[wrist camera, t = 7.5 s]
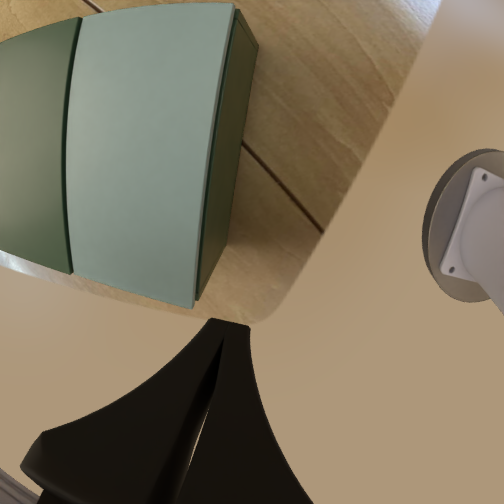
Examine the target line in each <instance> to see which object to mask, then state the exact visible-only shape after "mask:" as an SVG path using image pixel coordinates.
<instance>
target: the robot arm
mask: <svg viewBox="0 0 504 504" xmlns="http://www.w3.org/2000/svg"><path fill="white" fill-rule="evenodd" d="M483 174H484V175H485V178H484V179H482V176H483ZM451 267H453V268H452V269H451V270H450V271H449V269H450V268H451ZM439 269H440V271H441V273H442V274H444V275H448V276H453V277H457V278H461V279H465V280H469V281H473V282H477V283H478V284H479V285H480V286H481V287H482V288H483V290H484V291H485V292H486V293H487V294H488V296H489V297H490V298H491V299H492V301H493V302H494V303H495V304H496V306H497V307H498V308H499V310H500V311H501V312H502V313H503V315H504V179H502V178H500V177H498V176H496V175H494V174H493V173H490V172H488V171H486V170H484V169H482V168H480V167H475V168H474V169H473V171H472V174H471V178H470V182H469V185H468V189H467V192H466V195H465V198H464V202H463V205H462V208H461V211H460V214H459V217H458V220H457V222H456V225H455V228H454V231H453V234H452V236H451V239H450V241H449V244H448V247H447V249H446V252H445V254H444V257H443V259H442V261H441V264H440V267H439ZM250 330H251V329H250V328H249V326H247V325H243V324H238V323H234V322H229V321H225V320H220V319H216V318H210V319H208V321H207V322H206V324H205V325H204V326H203V327H202V329H201V330H200V331H199V332H198V334H196V336H195V337H194V338H193V339H192V340H191V341H190V342H189V343H188V344H187V345H186V346H185V347H184V348H183V349H182V350H181V351H180V352H179V353H178V354H177V355H176V356H175V357H174V358H173V359H172V360H171V361H170V362H168V363H167V364H166V365H165V366H164V367H163V368H161V369H160V370H159V371H158V372H157V373H156V374H154V375H153V376H152V377H151V378H149V379H148V380H146V381H145V382H144V383H142V384H141V385H140V386H138V387H137V388H135V389H134V390H132V391H131V392H129V393H128V394H126V395H124V396H123V397H121V398H119V399H118V400H116V401H114V402H113V403H111V404H109V405H107V406H105V407H103V408H102V409H99V410H98V411H95V412H93V413H91V414H89V415H87V416H85V417H82V418H80V419H78V420H75V421H73V422H70V423H67V424H64V425H62V426H58V427H56V428H53V429H50V430H46V431H43V432H42V433H41V434H40V436H39V437H38V438H37V439H36V440H35V442H34V443H33V444H32V446H31V448H30V449H29V451H28V453H27V454H26V456H25V458H24V460H23V461H22V463H21V465H20V468H21V470H22V471H23V472H24V473H25V474H26V475H27V476H28V477H29V478H30V479H31V480H33V481H34V482H35V483H36V484H37V485H39V486H40V487H41V488H42V489H44V490H43V492H42V494H41V496H38V495H36V494H35V493H33V492H32V491H30V490H29V489H28V488H26V487H25V486H23V485H22V484H20V483H19V482H18V481H16V480H15V479H14V478H12V477H11V476H10V475H8V474H7V473H6V472H4V471H3V470H2V469H1V468H0V504H313V502H312V501H311V499H310V498H309V496H308V495H307V494H306V492H305V491H304V489H303V488H302V486H301V485H300V483H299V481H298V480H297V478H296V477H295V475H294V474H293V472H292V470H291V468H290V467H289V464H288V463H287V461H286V459H285V457H284V455H283V453H282V451H281V449H280V447H279V445H278V443H277V441H276V439H275V436H274V434H273V432H272V429H271V427H270V424H269V422H268V419H267V417H266V414H265V411H264V408H263V405H262V402H261V399H260V395H259V391H258V387H257V383H256V379H255V374H254V369H253V364H252V358H251V349H250ZM208 409H209V410H208ZM207 412H208V413H207ZM206 414H207V416H206ZM205 417H206V419H205ZM204 419H205V422H204ZM203 422H204V425H203V428H202V431H201V434H200V437H199V440H198V443H197V446H196V449H195V451H194V454H193V457H192V460H191V456H192V452H193V449H194V446H195V443H196V440H197V437H198V435H199V432H200V429H201V427H202V424H203ZM190 460H191V463H190ZM189 463H190V465H189ZM188 467H189V468H188Z"/></svg>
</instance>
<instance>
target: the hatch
mask: <svg viewBox="0 0 504 504" xmlns="http://www.w3.org/2000/svg"><path fill="white" fill-rule="evenodd" d="M234 12H235V5H234V4H233V3H175V4H161V5H150V6H141V7H133V8H126V9H120V10H114V11H108V12H103V13H98V14H93V15H89V16H84V17H83V20H82V24H81V28H80V33H79V38H78V43H77V48H76V54H75V60H74V66H73V72H72V80H71V88H70V97H69V107H68V120H67V139H66V193H67V212H68V226H69V237H70V246H71V255H72V262H73V270H74V274H75V275H78V276H81V277H84V278H87V279H90V280H93V281H96V282H99V283H102V284H105V285H108V286H111V287H115V288H118V289H121V290H124V291H128V292H131V293H134V294H138V295H141V296H145V297H148V298H151V299H155V300H159V301H162V302H166V303H169V304H173V305H177V306H180V307H184V308H188V309H193V307H194V305H195V291H196V279H197V267H198V256H199V245H200V235H201V225H202V216H203V207H204V198H205V189H206V181H207V173H208V166H209V158H210V151H211V144H212V137H213V130H214V123H215V116H216V110H217V104H218V97H219V91H220V85H221V80H222V74H223V68H224V63H225V57H226V52H227V47H228V41H229V36H230V31H231V26H232V21H233V17H234Z"/></svg>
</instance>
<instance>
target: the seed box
mask: <svg viewBox="0 0 504 504" xmlns="http://www.w3.org/2000/svg"><path fill="white" fill-rule="evenodd" d="M82 20H83V18H80V17H76V18H72V19H68V20H64V21H60V22H57V23H53V24H50V25H47V26H44V27H40V28H37V29H34V30H32V31H29V32H26V33H23V34H20V35H18V36H15V37H13V38H10V39H8V40H5V41H3V42H1V43H0V250H2V251H4V252H7V253H10V254H12V255H15V256H18V257H20V258H23V259H26V260H28V261H31V262H34V263H37V264H40V265H43V266H45V267H48V268H51V269H54V270H57V271H60V272H63V273H66V274H69V275H71V274H72V273H73V272H74V270H73V262H72V255H71V246H70V237H69V226H68V212H67V193H66V139H67V120H68V107H69V97H70V88H71V80H72V72H73V66H74V60H75V54H76V48H77V43H78V38H79V33H80V28H81V24H82ZM258 46H259V45H258V43H257V41H256V39H255V37H254V35H253V33H252V31H251V29H250V27H249V26H248V24H247V22H246V20H245V18H244V16H243V14H242V13H241V11H240V9H235V12H234V17H233V21H232V26H231V31H230V36H229V41H228V47H227V52H226V57H225V63H224V68H223V74H222V80H221V85H220V91H219V97H218V104H217V110H216V116H215V123H214V130H213V137H212V144H211V151H210V158H209V166H208V173H207V181H206V189H205V198H204V207H203V216H202V225H201V235H200V245H199V256H198V267H197V279H196V291H195V300H196V301H198V300H199V299H200V297H201V295H202V293H203V290H204V288H205V286H206V284H207V282H208V280H209V278H210V276H211V274H212V272H213V270H214V268H215V266H216V264H217V262H218V260H219V258H220V256H221V254H222V252H223V250H224V248H225V246H226V242H227V235H228V228H229V221H230V214H231V207H232V201H233V194H234V187H235V181H236V174H237V168H238V162H239V156H240V149H241V143H242V137H243V131H244V125H245V119H246V113H247V107H248V102H249V96H250V90H251V84H252V79H253V73H254V68H255V62H256V57H257V52H258Z"/></svg>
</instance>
